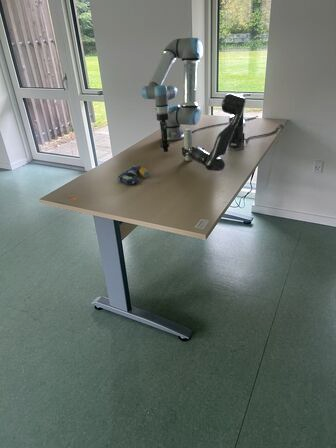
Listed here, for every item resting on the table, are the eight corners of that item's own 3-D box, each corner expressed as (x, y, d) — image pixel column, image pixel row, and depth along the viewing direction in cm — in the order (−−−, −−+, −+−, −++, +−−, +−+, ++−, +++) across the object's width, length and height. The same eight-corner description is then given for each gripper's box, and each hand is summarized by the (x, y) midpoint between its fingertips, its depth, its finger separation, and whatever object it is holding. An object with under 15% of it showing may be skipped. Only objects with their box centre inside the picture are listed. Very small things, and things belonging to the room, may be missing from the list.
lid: (170, 146, 211) (170, 143, 210) (162, 148, 210) (162, 145, 208) (167, 144, 216) (167, 141, 215) (159, 146, 214) (158, 143, 213)
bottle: (183, 160, 208) (182, 129, 198) (187, 157, 211) (186, 127, 201) (190, 161, 205) (189, 130, 196) (194, 158, 209) (193, 128, 199)
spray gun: (155, 171, 194) (133, 169, 200) (154, 165, 192) (132, 163, 198) (137, 187, 179) (114, 184, 185) (136, 180, 176) (112, 177, 183)
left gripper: (154, 110, 210) (157, 146, 222) (157, 117, 194) (161, 155, 206) (166, 109, 210) (169, 145, 222) (170, 115, 194) (173, 154, 206)
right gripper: (210, 146, 194) (196, 139, 207) (188, 152, 189) (175, 144, 203) (210, 159, 198) (196, 151, 211) (189, 164, 193) (176, 156, 207)
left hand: (165, 150), depth 214 cm, fingers closed on lid, 6 cm apart
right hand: (186, 148), depth 207 cm, fingers closed on bottle, 4 cm apart
